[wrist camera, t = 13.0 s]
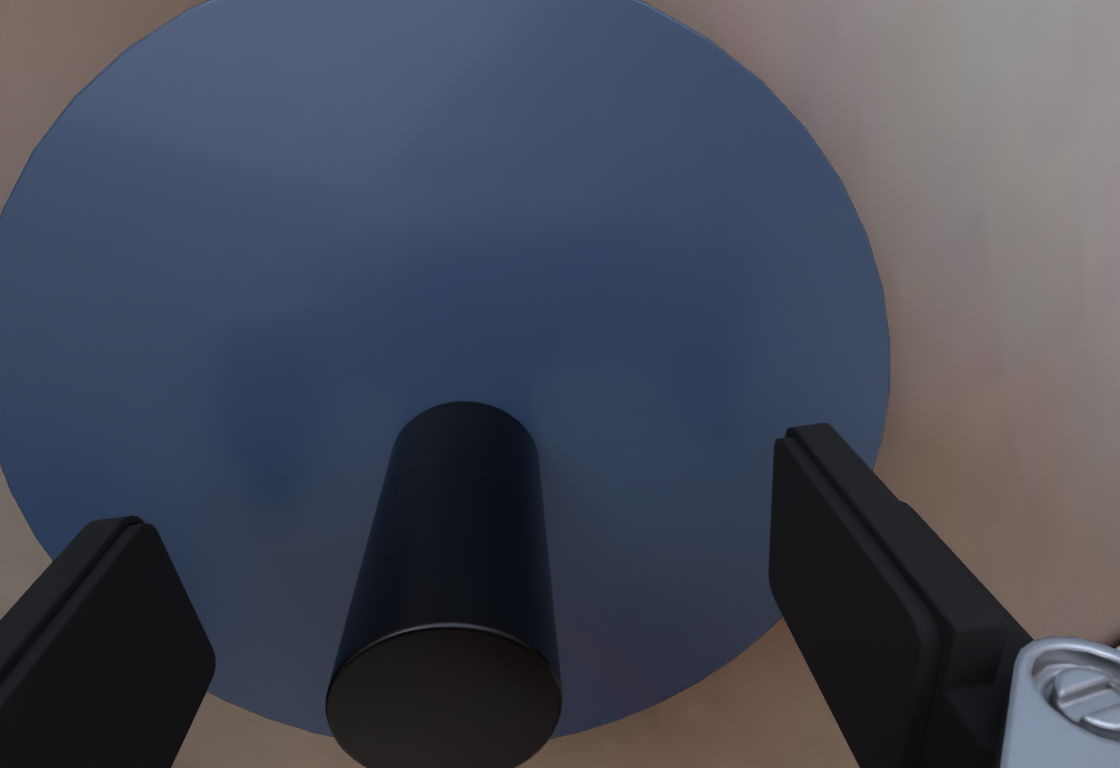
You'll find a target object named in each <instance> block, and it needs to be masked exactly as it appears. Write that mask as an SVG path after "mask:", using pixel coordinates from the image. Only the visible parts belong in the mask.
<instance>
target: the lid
mask: <svg viewBox="0 0 1120 768" xmlns="http://www.w3.org/2000/svg"><path fill="white" fill-rule="evenodd" d="M889 390H890V337H889V329H888V322H887V315H886V308H885V300H884V293H883V287H882V284H881V280H880V277H879V273H878V270H877V267H876V263H875V260H874V257H873V253H872V250H871V246H870V243H869V240H868V236H867V233H866V231H865V229H864V227H863V225H862V223H861V221H860V218H859V216H858V214H857V212H856V210H855V208H854V206H853V204H852V202H851V199H850V197H849V195H848V193H847V191H846V189H845V187H844V185H843V182H842V181H841V179H840V178H839V176H838V175H837V173H836V172H835V170H834V169H833V167H832V166H831V164H830V163H829V161H828V160H827V158H826V157H825V155H824V154H823V152H822V151H821V149H820V148H819V146H818V145H817V144H816V142H815V141H814V139H813V138H812V136H811V135H810V133H809V132H808V130H807V129H806V128H805V127H804V126H803V125H802V124H801V122H800V121H799V120H798V119H797V118H796V117H795V116H794V115H793V114H792V113H791V112H790V111H789V110H788V108H787V107H786V106H785V105H784V104H783V103H782V102H781V101H780V100H779V99H778V98H777V97H776V96H775V94H774V93H773V92H772V91H771V90H770V89H769V88H768V87H767V86H766V85H765V84H764V83H763V81H761V80H760V79H759V78H758V77H756V76H755V75H754V74H753V73H751V72H750V71H749V70H747V69H746V68H745V67H744V66H742V65H741V64H740V63H739V62H737V61H736V60H735V59H734V58H732V57H731V56H730V55H729V54H727V53H726V52H725V51H724V50H722V49H721V48H720V47H718V46H717V45H716V44H715V43H713V42H712V41H711V40H710V39H708V38H707V37H705V36H703V35H702V34H700V33H698V32H696V31H695V30H693V29H691V28H689V27H688V26H686V25H684V24H682V23H681V22H679V21H677V20H675V19H674V18H672V17H670V16H668V15H667V14H665V13H663V12H661V11H660V10H658V9H656V8H654V7H653V6H651V5H649V4H647V3H646V2H644V1H641V0H207V1H205V2H203V3H200V4H198V5H196V6H193V7H191V8H189V9H188V10H186V11H184V12H183V13H181V14H180V15H178V16H177V17H175V18H173V19H172V20H170V21H169V22H167V23H166V24H164V25H163V26H161V27H159V28H158V29H156V30H155V31H153V32H152V33H150V34H149V35H147V36H145V37H144V38H142V39H141V40H139V41H138V42H136V43H134V44H133V45H131V46H130V47H128V48H127V49H126V50H125V51H124V52H122V53H121V54H120V55H119V56H118V57H117V58H116V59H115V60H114V61H113V62H112V63H110V64H109V65H108V66H107V67H106V68H105V69H104V70H103V71H102V72H101V73H100V74H98V75H97V76H96V77H95V78H94V79H93V80H92V81H91V82H90V83H89V84H88V85H86V86H85V87H84V88H83V89H82V90H81V91H80V92H79V93H78V94H77V95H76V96H74V98H73V99H72V100H71V102H70V103H69V104H68V106H67V107H66V108H65V109H64V111H63V112H62V113H61V115H60V116H59V117H58V119H57V120H56V121H55V123H54V124H53V125H52V126H51V128H50V129H49V130H48V132H47V133H46V134H45V136H44V137H43V138H42V140H41V141H40V142H39V143H38V145H37V146H36V147H35V149H34V150H33V152H32V154H31V155H30V157H29V159H28V161H27V163H26V165H25V167H24V169H23V171H22V173H21V175H20V177H19V179H18V181H17V183H16V185H15V187H14V189H13V191H12V192H11V194H10V196H9V198H8V200H7V202H6V204H5V206H4V208H3V210H2V213H1V217H0V464H1V467H2V470H3V472H4V475H5V478H6V480H7V483H8V486H9V488H10V491H11V493H12V495H13V497H14V498H15V500H16V502H17V504H18V506H19V508H20V509H21V511H22V513H23V515H24V517H25V518H26V520H27V522H28V524H29V526H30V528H31V529H32V531H33V533H34V535H35V537H36V539H37V540H38V541H39V543H40V544H41V545H42V547H43V548H44V549H45V551H46V552H47V553H48V555H49V556H50V558H51V559H52V560H53V561H54V560H55V559H56V558H57V556H58V555H59V554H60V553H61V552H62V551H63V550H64V549H65V548H66V546H67V545H68V544H69V543H70V542H71V541H72V540H73V539H74V538H75V536H76V535H77V534H78V533H79V532H80V531H81V530H82V529H83V527H84V526H86V525H87V524H88V523H89V522H92V521H95V520H101V519H109V518H116V517H124V516H131V515H133V516H138V517H139V518H141V519H142V520H143V521H144V522H145V523H148V524H152V525H153V526H154V527H155V528H156V529H157V531H158V533H159V535H160V537H161V539H162V541H163V544H164V546H165V548H166V550H167V552H168V554H169V556H170V558H171V561H172V563H173V565H174V567H175V569H176V571H177V573H178V575H179V578H180V580H181V582H182V584H183V586H184V588H185V590H186V592H187V594H188V597H189V599H190V601H191V603H192V605H193V607H194V609H195V611H196V614H197V616H198V618H199V620H200V622H201V624H202V626H203V628H204V630H205V633H206V635H207V637H208V639H209V641H210V643H211V645H212V647H213V650H214V653H215V657H216V668H215V673H214V676H213V679H212V681H211V683H210V685H209V687H208V690H207V691H208V692H210V693H211V694H213V695H215V696H217V697H219V698H221V699H223V700H225V701H227V702H229V703H232V704H234V705H236V706H239V707H241V708H244V709H246V710H248V711H251V712H253V713H256V714H258V715H260V716H263V717H265V718H268V719H271V720H274V721H277V722H280V723H283V724H287V725H290V726H293V727H296V728H300V729H303V730H306V731H309V732H312V733H317V734H321V735H326V736H331V737H334V738H335V739H336V741H337V743H338V744H339V745H340V746H341V747H342V749H343V750H344V751H345V752H346V753H347V754H348V755H349V756H351V757H352V758H353V759H354V760H356V761H357V762H358V763H360V764H361V765H363V766H364V767H366V768H515V767H517V766H519V765H521V764H522V763H524V762H525V761H527V760H528V759H530V758H531V757H532V756H534V755H535V754H536V753H537V752H538V751H539V750H540V749H541V748H542V747H543V746H544V745H545V744H546V743H547V742H548V740H549V739H552V738H557V737H561V736H566V735H570V734H575V733H579V732H582V731H585V730H589V729H592V728H595V727H598V726H601V725H604V724H608V723H611V722H614V721H617V720H620V719H623V718H625V717H627V716H630V715H632V714H635V713H637V712H639V711H642V710H644V709H646V708H649V707H651V706H654V705H656V704H658V703H661V702H663V701H664V700H666V699H668V698H670V697H672V696H674V695H676V694H678V693H679V692H681V691H683V690H685V689H687V688H689V687H691V686H693V685H694V684H696V683H698V682H700V681H701V680H703V679H704V678H706V677H707V676H709V675H710V674H712V673H713V672H715V671H716V670H718V669H719V668H721V667H722V666H724V665H725V664H727V663H728V662H730V661H731V660H733V659H734V658H736V657H737V656H738V655H739V654H740V653H742V652H743V651H744V650H745V649H747V648H748V647H749V646H750V645H751V644H753V643H754V642H755V641H756V640H758V639H759V638H760V637H761V636H762V635H764V634H765V633H766V632H767V631H768V630H769V629H770V628H771V627H772V626H773V625H774V624H775V623H776V622H777V621H778V620H779V619H780V618H781V617H782V616H783V615H782V613H781V611H780V609H779V607H778V606H777V604H776V602H775V600H774V597H773V595H772V592H771V588H770V584H769V576H768V570H769V547H770V524H771V501H772V478H773V455H774V443H775V441H776V439H778V438H785V433H786V430H787V429H788V428H789V427H796V426H803V425H811V424H818V423H828V424H830V425H831V426H832V427H833V428H834V429H835V430H836V431H837V433H838V434H839V435H840V436H841V437H842V438H843V439H844V440H845V441H846V442H847V444H848V445H849V446H850V447H851V448H852V449H853V450H854V451H855V452H856V454H857V455H858V456H859V457H860V458H861V459H862V460H863V461H864V462H865V463H866V465H867V466H868V467H869V468H870V469H871V470H872V471H873V468H874V464H875V461H876V458H877V454H878V451H879V448H880V444H881V441H882V436H883V430H884V423H885V417H886V410H887V404H888V398H889Z"/></svg>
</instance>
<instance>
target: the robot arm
mask: <svg viewBox="0 0 1120 768" xmlns="http://www.w3.org/2000/svg"><path fill="white" fill-rule="evenodd" d="M768 576H769V584H770V588H771V592H772V595H773V597H774V600H775V602H776V604H777V606H778V607H779V609H780V611H781V613H782V615H783V617H784V619H785V621H786V623H787V625H788V627H789V629H790V631H791V633H792V635H793V637H794V639H795V641H796V643H797V645H798V647H799V649H800V651H801V653H802V655H803V657H804V659H805V661H806V663H807V665H808V667H809V669H810V671H811V672H812V674H813V676H814V678H815V680H816V682H817V684H818V686H819V688H820V690H821V692H822V694H823V696H824V698H825V700H826V702H827V704H828V706H829V708H830V710H831V712H832V714H833V716H834V718H835V720H836V722H837V724H838V726H839V728H840V730H841V732H842V734H843V735H844V737H845V739H846V741H847V743H848V745H849V747H850V749H851V751H852V753H853V755H854V757H855V759H856V761H857V763H858V765H859V767H860V768H1120V645H1119V646H1118V647H1116V648H1115V649H1114V648H1112V647H1109V646H1107V645H1104V644H1102V643H1098V642H1094V641H1090V640H1085V639H1081V638H1077V637H1059V636H1050V637H1046V638H1042V639H1037V640H1033V639H1032V638H1031V636H1030V635H1029V634H1028V633H1027V632H1026V631H1025V630H1024V629H1023V628H1022V627H1021V626H1020V624H1019V623H1018V622H1017V621H1016V620H1015V619H1014V618H1013V617H1012V616H1011V615H1010V614H1009V613H1008V611H1007V610H1006V609H1005V608H1004V607H1003V606H1002V605H1001V604H1000V603H999V602H998V601H997V599H996V598H995V597H994V596H993V595H992V594H991V593H990V592H989V591H988V590H987V589H986V588H985V586H984V585H983V584H982V583H981V582H980V581H979V580H978V579H977V578H976V577H975V576H974V574H973V573H972V572H971V571H970V570H969V569H968V568H967V567H966V566H965V565H964V564H963V563H962V561H961V560H960V559H959V558H958V557H957V556H956V555H955V554H954V553H953V552H952V551H951V550H950V548H949V547H948V546H947V545H946V544H945V543H944V542H943V541H942V540H941V539H940V538H939V536H938V535H937V534H936V533H935V532H934V531H933V530H932V529H931V528H930V527H929V526H928V525H927V523H926V522H925V521H924V520H923V519H922V518H921V517H920V516H919V515H918V514H917V513H916V511H915V510H914V509H912V508H911V507H910V506H909V505H908V504H906V503H904V502H901V501H899V500H898V499H897V498H896V497H895V495H894V494H893V493H892V492H891V491H890V490H889V489H888V488H887V487H886V486H885V484H884V483H883V482H882V481H881V480H880V479H879V478H878V477H877V476H876V475H875V473H874V472H873V471H872V470H871V469H870V468H869V467H868V466H867V465H866V463H865V462H864V461H863V460H862V459H861V458H860V457H859V456H858V455H857V454H856V452H855V451H854V450H853V449H852V448H851V447H850V446H849V445H848V444H847V442H846V441H845V440H844V439H843V438H842V437H841V436H840V435H839V434H838V433H837V431H836V430H835V429H834V428H833V427H832V426H831V425H830V424H828V423H818V424H811V425H803V426H796V427H789V428H788V429H787V430H786V433H785V438H778V439H776V441H775V443H774V455H773V478H772V501H771V524H770V547H769V570H768ZM215 668H216V657H215V653H214V650H213V647H212V645H211V643H210V641H209V639H208V637H207V635H206V633H205V630H204V628H203V626H202V624H201V622H200V620H199V618H198V616H197V614H196V611H195V609H194V607H193V605H192V603H191V601H190V599H189V597H188V594H187V592H186V590H185V588H184V586H183V584H182V582H181V580H180V578H179V575H178V573H177V571H176V569H175V567H174V565H173V563H172V561H171V558H170V556H169V554H168V552H167V550H166V548H165V546H164V544H163V541H162V539H161V537H160V535H159V533H158V531H157V529H156V528H155V527H154V526H153V525H152V524H148V523H145V522H144V521H143V520H142V519H141V518H139V517H138V516H133V515H131V516H124V517H116V518H109V519H101V520H95V521H92V522H89V523H88V524H87V525H86V526H84V527H83V529H82V530H81V531H80V532H79V533H78V534H77V535H76V536H75V538H74V539H73V540H72V541H71V542H70V543H69V544H68V545H67V546H66V548H65V549H64V550H63V551H62V552H61V553H60V554H59V555H58V556H57V558H56V559H55V560H54V561H53V562H52V563H51V564H50V565H49V567H48V568H47V569H46V570H45V571H44V572H43V573H42V574H41V575H40V577H39V578H38V579H37V580H36V581H35V582H34V583H33V584H32V586H31V587H30V588H29V589H28V590H27V591H26V592H25V593H24V594H23V596H22V597H21V598H20V599H19V600H18V601H17V602H16V603H15V605H14V606H13V607H12V608H11V609H10V610H9V611H8V612H7V613H6V615H5V616H4V617H3V618H2V619H1V620H0V768H171V767H172V764H173V762H174V760H175V758H176V756H177V754H178V752H179V749H180V747H181V745H182V743H183V741H184V739H185V737H186V735H187V732H188V730H189V728H190V726H191V724H192V722H193V720H194V717H195V715H196V713H197V711H198V709H199V707H200V705H201V702H202V700H203V698H204V696H205V694H206V692H207V690H208V687H209V685H210V683H211V681H212V679H213V676H214V673H215Z"/></svg>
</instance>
